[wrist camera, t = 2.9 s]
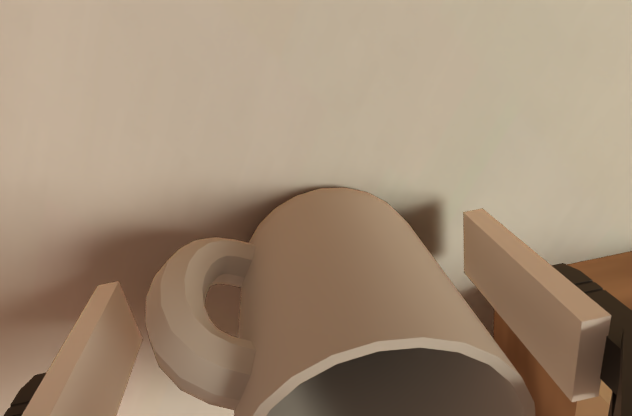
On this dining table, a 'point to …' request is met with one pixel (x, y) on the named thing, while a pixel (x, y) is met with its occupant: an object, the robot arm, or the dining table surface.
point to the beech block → (595, 403)
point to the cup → (329, 320)
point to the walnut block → (550, 401)
